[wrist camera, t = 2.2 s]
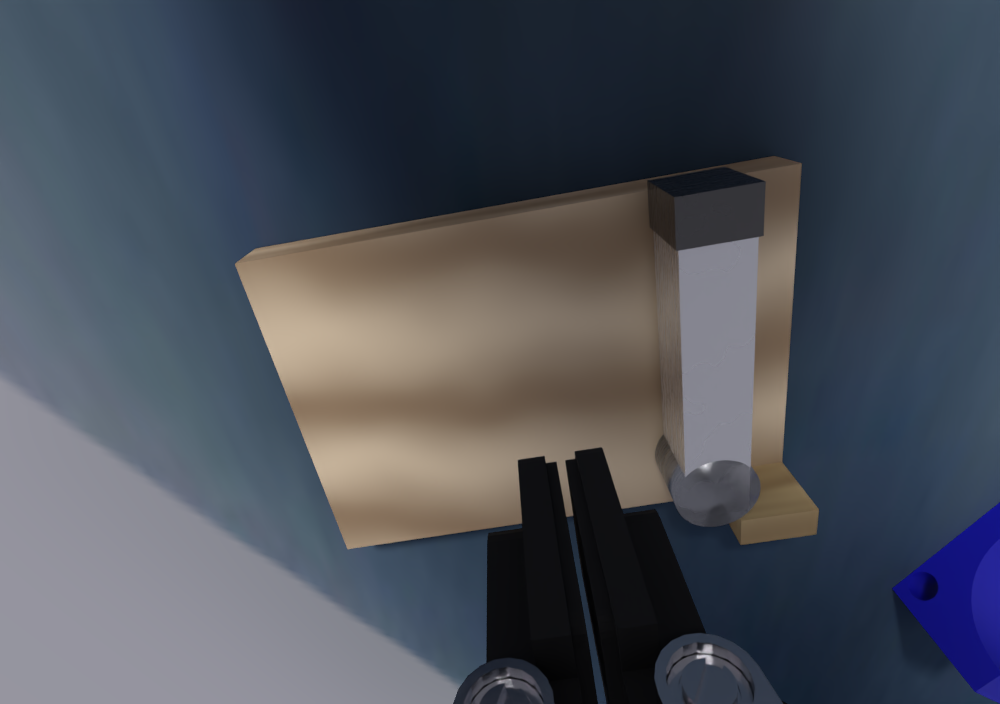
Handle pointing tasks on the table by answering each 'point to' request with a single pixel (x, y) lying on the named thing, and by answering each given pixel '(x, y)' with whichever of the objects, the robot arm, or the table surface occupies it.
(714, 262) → the folding leg
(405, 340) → the stool seat
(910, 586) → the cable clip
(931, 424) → the table surface
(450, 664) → the table surface
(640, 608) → the robot arm
